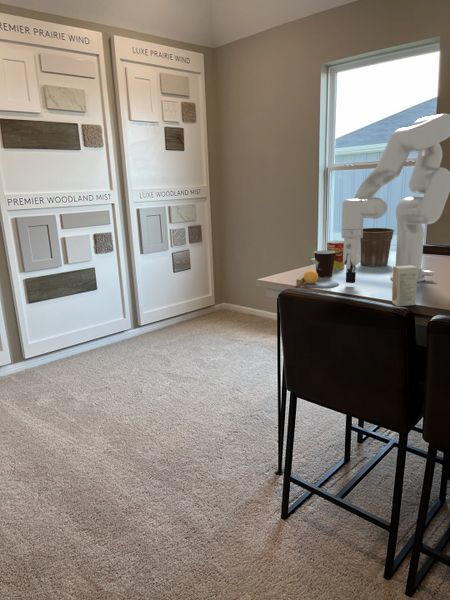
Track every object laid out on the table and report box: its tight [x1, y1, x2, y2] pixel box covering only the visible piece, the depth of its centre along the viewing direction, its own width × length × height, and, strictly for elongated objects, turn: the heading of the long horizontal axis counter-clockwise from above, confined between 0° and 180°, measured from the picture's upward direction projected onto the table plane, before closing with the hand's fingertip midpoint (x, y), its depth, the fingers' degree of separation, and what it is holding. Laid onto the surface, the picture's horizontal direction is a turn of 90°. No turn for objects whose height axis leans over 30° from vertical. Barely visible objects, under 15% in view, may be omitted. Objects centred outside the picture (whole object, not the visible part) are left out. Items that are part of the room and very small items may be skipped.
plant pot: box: [359, 227, 395, 268], centre depth 207 cm, size 16×16×16 cm
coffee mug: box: [313, 250, 335, 278], centre depth 190 cm, size 12×9×10 cm
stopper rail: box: [295, 274, 306, 287], centre depth 177 cm, size 2×10×2 cm, turn 154°
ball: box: [303, 269, 319, 284], centre depth 175 cm, size 6×6×6 cm
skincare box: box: [391, 265, 418, 307], centre depth 142 cm, size 6×4×12 cm
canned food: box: [326, 240, 345, 270], centre depth 203 cm, size 8×8×12 cm
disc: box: [304, 279, 340, 289], centre depth 174 cm, size 13×13×1 cm
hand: (350, 282), depth 169 cm, fingers closed
